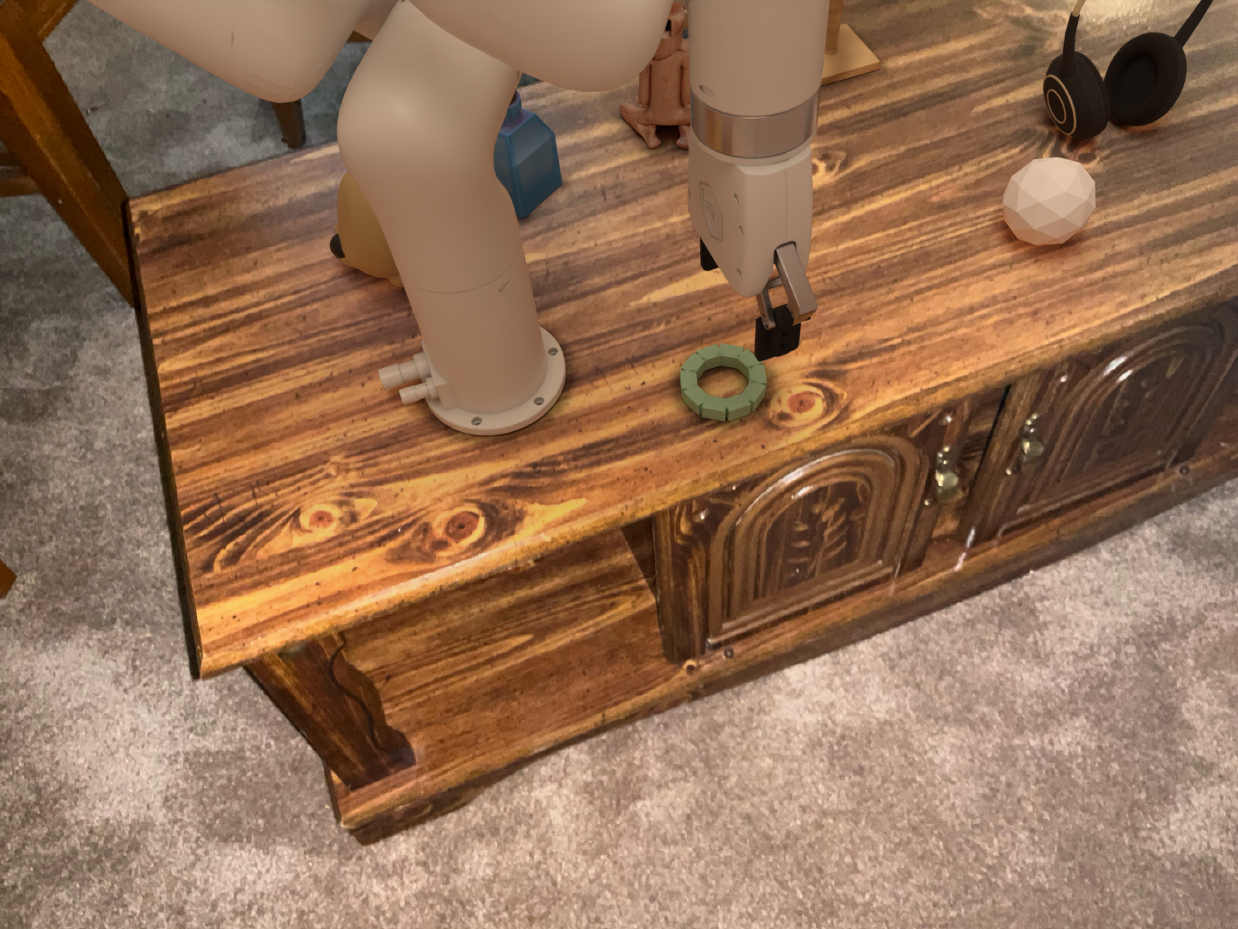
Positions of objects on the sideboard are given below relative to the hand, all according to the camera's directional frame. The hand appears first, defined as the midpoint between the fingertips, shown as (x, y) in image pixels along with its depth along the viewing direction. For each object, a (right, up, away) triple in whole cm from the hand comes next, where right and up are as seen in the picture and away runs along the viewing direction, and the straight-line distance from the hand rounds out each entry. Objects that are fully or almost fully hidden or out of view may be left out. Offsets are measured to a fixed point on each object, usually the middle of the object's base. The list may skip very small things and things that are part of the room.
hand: (747, 306), depth 70 cm
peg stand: (+14, +34, +36) cm, 51 cm away
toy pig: (-31, +8, +23) cm, 40 cm away
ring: (-1, -5, +12) cm, 13 cm away
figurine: (-5, +24, +32) cm, 40 cm away
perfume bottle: (-20, +16, +28) cm, 38 cm away
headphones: (+39, +23, +27) cm, 53 cm away
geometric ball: (+30, +10, +19) cm, 37 cm away
